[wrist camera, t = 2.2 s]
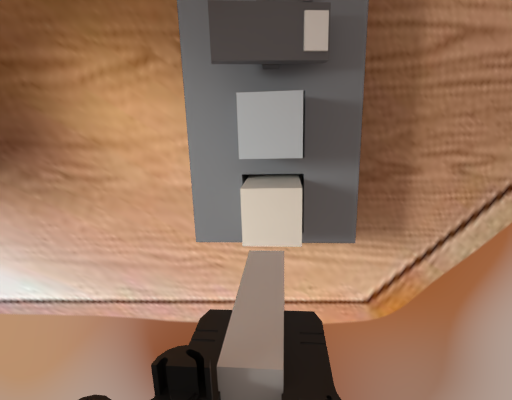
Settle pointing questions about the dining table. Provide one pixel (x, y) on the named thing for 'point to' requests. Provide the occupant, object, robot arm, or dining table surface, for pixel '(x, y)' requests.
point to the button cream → (271, 211)
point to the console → (314, 126)
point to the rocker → (269, 32)
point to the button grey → (270, 124)
